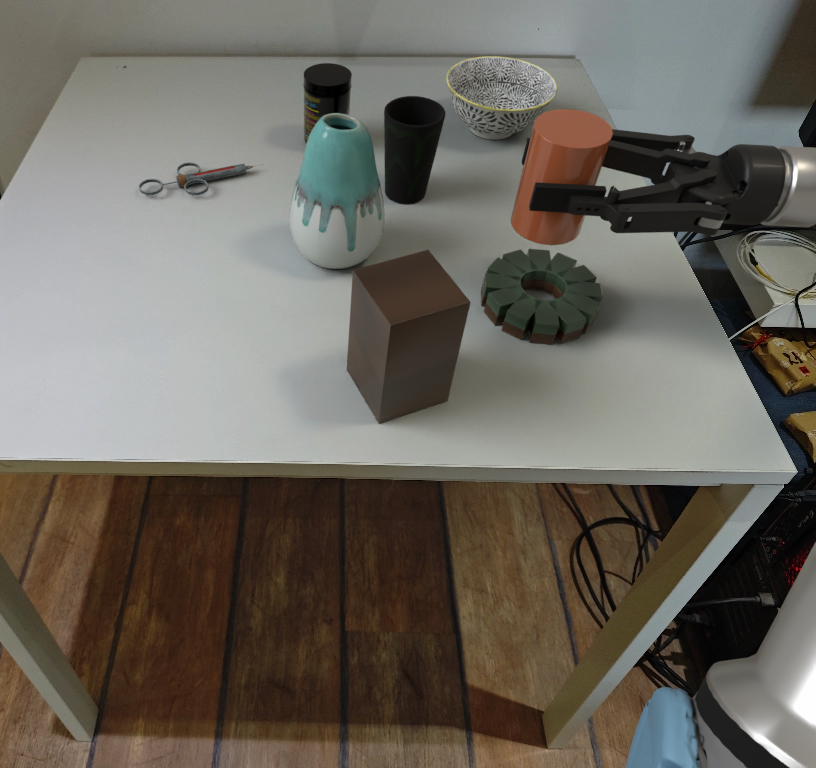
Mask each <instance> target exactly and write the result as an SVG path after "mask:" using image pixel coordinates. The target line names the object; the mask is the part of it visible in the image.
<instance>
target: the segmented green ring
mask: <svg viewBox="0 0 816 768" xmlns="http://www.w3.org/2000/svg"><path fill="white" fill-rule="evenodd" d="M577 262H578V260H577V259H575V258H572V257H570V256H567V255H565V254H562V253H561V252H557V253H556V254H555V255H554V256H553V257H552V258H551V251H550V250H549V249H538V248H528V250H527V253H525V252H524V251H523V250H522V249H517V250H514V251H510V252H507V253H503V254H502V258H500V257H496V259H495V260H494V261H493V262H492V263H491V264H490V265H489V266H488V267H487V268H486V272H485V273H484V277H483V281H482V285H481V290H480V305H481V307H484V309H483V313H484V314H485V315H486V317H487V318H488V319H489V320H490V321H491V323H492V324H493V325H494V326H496V327H497V326H499V325H502V327H501V331H502V332H504V333H506V334H508V335H510V336H512V337H514V338H516V339H519V340H523V338H524V337H525V336H526V335H527V334H528V337H529V343H532V344H543V345H551V346H552V345H553V344H554V341H555V339H556V340H557V341H558V342H559V343H560V344H564V343H567V342H570V341H573V340H577V339H579V338H580V336H581V334H584V335H585V334H587V332H588V331H589V330H590V328H591V327H592V326H593V324H594V323H595V320H596V318H597V317H598V313H599V311H600V308H601V306H602V300H603V298H604V297H603V292H602V287H601V286H602V285H601V282H596V281H597V278H598V277H597V276H596V275H595V274H594V273H593V272H592V271H591V270H590V269H589V268H588V267H587V266H586V265H585V264H581V265H579V266H576V265H577ZM528 290H533V291H534V290H535V291H542V292H544V293H546V294H549V295H550V296H552V297H553V298H554V299H551V300H549V299H540V298H537V297H535V296H533V295H531V294H528V293H527V291H528Z"/></svg>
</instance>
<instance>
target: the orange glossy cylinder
mask: <svg viewBox="0 0 816 768" xmlns="http://www.w3.org/2000/svg"><path fill="white" fill-rule="evenodd" d="M612 129H613V128H612V126H611V125H610V124H609V123H608V121H606V120H604V118H602V117H600V116H598V115H596V114H594V113H591V112H588V111H584V110H580V109H579V110H578V109H572V108H571V109H569V108H557V109H552V110H549V111H545V112H542V113H541V114H540V115H539V116H538V117H537V118H536V120H535V121H534V122H533V126H532V130H531V133H530V137H529V138H530V142H529V146H528V150H527V154H526V158H525V162H524V165H522V171H521V175H520V179H519V182H518V187H517V192H516V195H515V200H514V204H513V208H512V213H511V215H510V224H511V227H512V229H513V230H514V231H515V232H516V233H517V234H518V235H519V236H520V237H522V238H523V239H525V240H528V241H530V242H532V243H535V244H538V245H539V244H540V245H545V246H561V245H565V244H568V243H571V242H573V241H574V240H576V239H577V238H578V237H579V235H580V233H581V231H582V229H583V225H584V221H585V219H586V216H585V215H572V214H569V213H561V212H543V211H530V210H529V204H530V200H531V197H532V193H533V190H534V186H535V182H538V183H556V184H575V185H593V186H597V183H598V180H599V177H600V174H601V172H602V169H603V167H602V165H603V162H604V159H605V156H606V153H607V150H608V147H609V144H610V141H611V139H612V135H613V131H612Z"/></svg>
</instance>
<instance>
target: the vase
mask: <svg viewBox="0 0 816 768" xmlns="http://www.w3.org/2000/svg"><path fill="white" fill-rule="evenodd" d="M371 136H372V135H371V133H370V131H369V129H368V127H367V126H366V124H365V123H364V122H363V121H362V120H361V119H359V118H357V117H355V116H353V115H351V114H350V115H346V114H341V113H331V114H327V115H324V116H322V117H321V118H320V119H319V120H318V122H317V123H316V124H315V126H314V128H313V129H312V131H311V133H310V135H309V138H308V141H307V144H306V143H305V147H304V151H303V155H302V159H301V164H300V168H299V171H298V174H297V177H296V179H295V182H294V185H293V191H292V195H291V200H290V207H289V216H288V217H289V222H288V223H289V224H288V229H289V234H290V237H291V240H292V242H293V244H294V246H295V248H296V249H297V250H298V252H299V253H300V254H301V256H303V257H304V259H306V260H307V261H309V262H310V263H312V264H314V265H316V266H318V267H321V268H326V269H334V270H337V269H338V270H339V269H347V268H352V267H354V266H357V265H359V264H361V263H363V262H364V261H366V260H367V258H369V257H370V256H371V255H372V254H373V253H374V252H375V251H376V249H377V247H378V246H379V244H380V241H381V239H382V237H383V233H384V229H385V204H384V203H385V202H384V197H383V190H382V186H381V181H380V176H379V173H378V172H379V171H378V169H377V162H376V157H375V149H374V144H373V140H372V137H371Z"/></svg>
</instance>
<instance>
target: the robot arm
mask: <svg viewBox="0 0 816 768" xmlns="http://www.w3.org/2000/svg"><path fill="white" fill-rule="evenodd" d="M612 131H613V135H612V139H611V141H610V144H609V147H608V150H607V153H606V156H605V159H604V162H603V165H602V168H606V169H610V170H613V171H617V172H623V173H625V174H630V175H633V176H638V177H642V178H645V179H649V180H650V182H651V185H645V186H640V187H634V188H633V187H632V188H627V189H623V190H619V189H618V188H617V187H616V186H615V185H612V186H610V188H609V191H608V190H607V187H606V185H596V186H593V185H575V184H556V183H538V182H535V186H534V190H533V193H532V197H531V200H530V204H529V210H530V211H543V212H561V213H569V214H572V215H585V217H599V218H600V219H601V220H603V221H605V222H609V223H610V227H609V229H610V231H611V232H613V233H615V234H647V233H648V234H649V233H695V234H702V235H708V236H716V235H717V234H718V231H719V230H720V228H721V227H722V225H723V224H725V225H745V226H757V225H759V224H760V225H762V226H770V227H791V228H792V227H793V228H805V229H816V147H812V146H811V147H809V146H808V147H807V146H789V145H780V146H778V147H777V146H775V145H767V144H750V143H749V144H747V143H738V144H735V145H733V146H731V147H729V148H728V149H727V150H726V151H724V152H722V153H720V154H718V155H716V154H710V153H706V152H703V151H696V149H695V148H694V147H693V144H694V142H695V140H696V138H695V136H693V135H691V134H678V135H677V134H675V135H669V134H667V135H666V134H657V133H649V132H641V131H631V130H624V129H623V130H622V129H614V128H612ZM530 138H531V137H527V138H526V142H525V146H524V149H523V153H522V157H521V165H522V166H524V162H525V158H526V154H527V150H528V146H529V142H530ZM668 163H669V164H668ZM667 164H668V166H667ZM666 167H667V168H666ZM665 168H666V171H665ZM664 171H665V172H664ZM663 173H664V174H663ZM607 191H608V194H607ZM606 194H607V196H606ZM629 218H630V220H629ZM805 559H806V560H805V561H804V563H803V565H802V567H801V569H800V570H799V572H798V575H797V577H796V578H795V580H794V582H793V584H792V586H791V588H790V589H789V591H788V593H787V595H786V597H785V599H784V600H783V602H782V605H781V607H780V608H779V610H778V612H777V615H776V616H775V617H774V620H773V622H772V623H771V625H770V627H769V629H768V631H767V632H766V635H765V636H764V639H762V640H763V641H762V642H761V644H760V646H759V648H758V650H757V652H756V653H755V654H753V655H750V656H748V657H742V658H735V659H728V660H727V659H726V660H720V661H716V662H714V663H713V664H712V665H711V666H710V668H709V669H708V671H707V672H706V674H705V676H704V678H703V680H702V681H701V684H700V686H699V689H698V690H697V691H696V693H695V694H694V695H693V696H689V694H688V692H687V691H686V690H684V689H683V688H671V687H669V686H662V687H658V688H657V689H656V690H655V691H654V692H653V694H652V697H651V698H650V699H648V701H647V702H646V704H645V706H644V707H643V710H642V712H641V714H640V717H639V720H638V722H637V724H636V725H637V726H636V728H635V731H634V734H633V737H632V741H631V743H630V748H629V752H628V756H627V760H626V763H625V768H816V541H815V542H814V544H813V546H812V548H811V549H810V552H809V554H808V556H807V557H806V558H805Z"/></svg>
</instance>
